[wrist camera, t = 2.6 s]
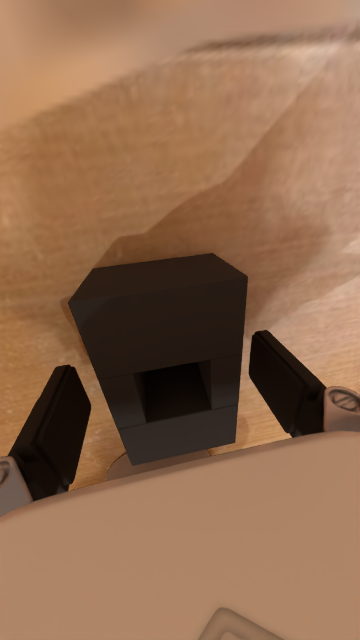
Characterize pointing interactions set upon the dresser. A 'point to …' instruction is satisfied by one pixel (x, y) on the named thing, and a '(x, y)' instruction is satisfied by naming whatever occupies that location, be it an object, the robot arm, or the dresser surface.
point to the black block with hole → (166, 351)
